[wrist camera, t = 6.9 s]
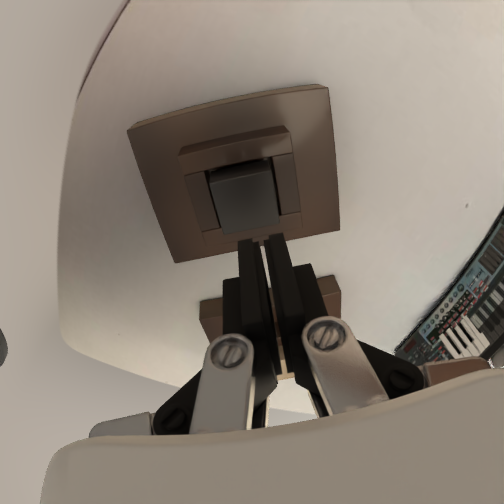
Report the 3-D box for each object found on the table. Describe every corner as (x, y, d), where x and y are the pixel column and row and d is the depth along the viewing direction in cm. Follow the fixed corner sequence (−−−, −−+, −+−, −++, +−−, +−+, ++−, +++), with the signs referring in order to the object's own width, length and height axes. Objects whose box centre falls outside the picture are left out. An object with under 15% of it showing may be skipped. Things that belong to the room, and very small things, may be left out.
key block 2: (227, 363, 33) (228, 394, 30) (199, 301, 27) (198, 336, 24) (334, 342, 33) (343, 372, 29) (333, 274, 27) (347, 306, 24)
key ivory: (265, 367, 28) (267, 382, 27) (259, 348, 26) (261, 364, 25) (298, 360, 28) (302, 376, 26) (296, 340, 26) (299, 356, 25)
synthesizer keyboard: (438, 408, 30) (425, 421, 23) (396, 353, 36) (373, 349, 29) (552, 282, 24) (570, 257, 17) (503, 234, 31) (506, 198, 24)
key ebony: (223, 219, 19) (223, 235, 17) (210, 171, 17) (208, 183, 15) (275, 209, 19) (280, 223, 17) (267, 159, 17) (271, 170, 15)
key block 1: (178, 246, 24) (171, 280, 21) (135, 123, 18) (116, 138, 15) (331, 215, 23) (348, 244, 20) (318, 83, 18) (339, 90, 14)
